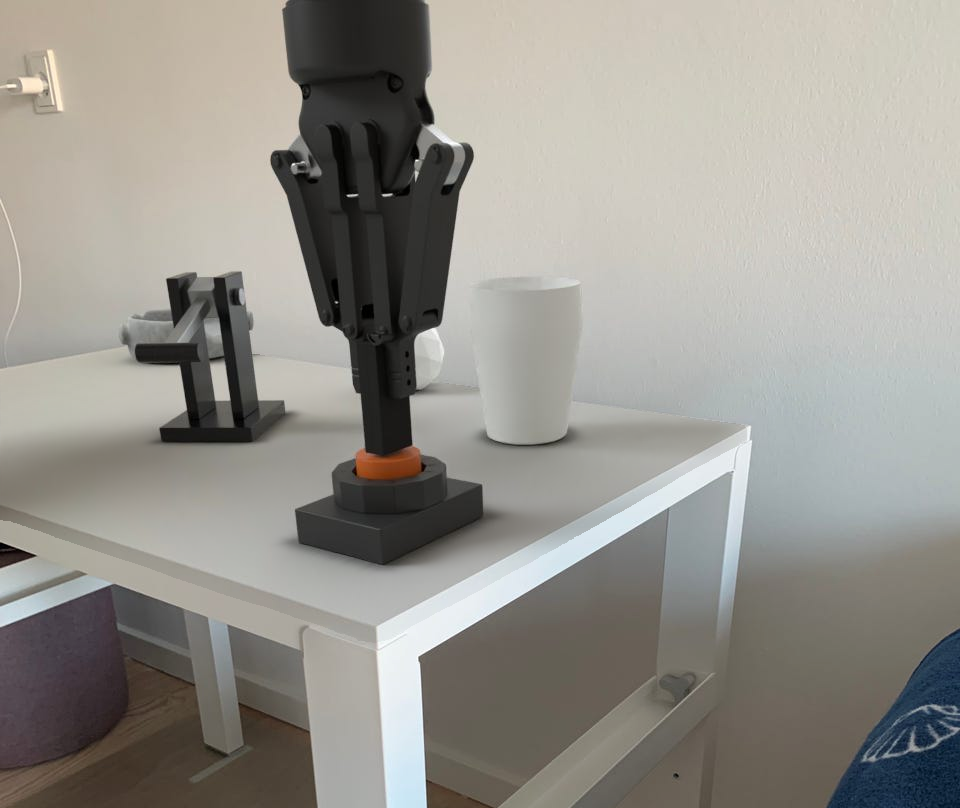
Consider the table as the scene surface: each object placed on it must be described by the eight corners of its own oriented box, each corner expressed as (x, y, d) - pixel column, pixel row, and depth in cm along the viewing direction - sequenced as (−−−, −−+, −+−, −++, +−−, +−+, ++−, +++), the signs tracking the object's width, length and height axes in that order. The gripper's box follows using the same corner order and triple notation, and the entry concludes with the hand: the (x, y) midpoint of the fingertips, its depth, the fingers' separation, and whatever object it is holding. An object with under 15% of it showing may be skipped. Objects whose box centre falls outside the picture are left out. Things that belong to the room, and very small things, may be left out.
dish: (265, 344, 127) (260, 303, 124) (215, 366, 115) (209, 321, 112) (162, 343, 130) (155, 303, 128) (102, 364, 118) (94, 320, 115)
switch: (202, 371, 77) (194, 341, 75) (139, 371, 78) (130, 342, 76) (244, 303, 86) (237, 275, 84) (188, 304, 86) (180, 277, 85)
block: (383, 565, 58) (378, 499, 57) (298, 542, 62) (290, 480, 60) (483, 516, 65) (482, 456, 64) (402, 498, 69) (398, 442, 67)
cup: (456, 445, 81) (450, 290, 76) (493, 418, 89) (490, 275, 83) (564, 453, 78) (565, 291, 73) (593, 424, 86) (596, 276, 80)
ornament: (415, 376, 106) (455, 315, 101) (423, 416, 101) (465, 354, 96) (356, 348, 102) (394, 283, 98) (361, 388, 97) (402, 322, 93)
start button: (393, 493, 60) (391, 465, 59) (344, 483, 62) (341, 455, 61) (434, 476, 63) (433, 449, 62) (386, 467, 65) (384, 440, 64)
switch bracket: (252, 441, 84) (231, 281, 79) (161, 441, 85) (133, 283, 79) (285, 413, 93) (268, 267, 87) (202, 413, 94) (180, 268, 88)
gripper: (501, -14, 50) (511, 448, 61) (315, 13, 57) (352, 423, 68) (405, -29, 45) (434, 480, 55) (212, 3, 52) (270, 449, 62)
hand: (389, 448), depth 61 cm, fingers closed
